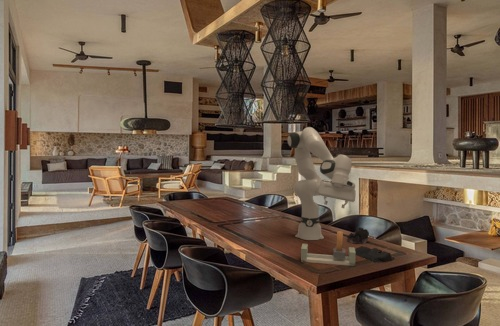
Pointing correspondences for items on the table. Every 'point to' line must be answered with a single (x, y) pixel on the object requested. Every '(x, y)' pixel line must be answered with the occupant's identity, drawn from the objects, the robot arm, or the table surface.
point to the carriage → (339, 246)
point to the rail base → (321, 260)
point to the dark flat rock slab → (373, 254)
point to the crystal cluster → (358, 236)
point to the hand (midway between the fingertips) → (334, 206)
